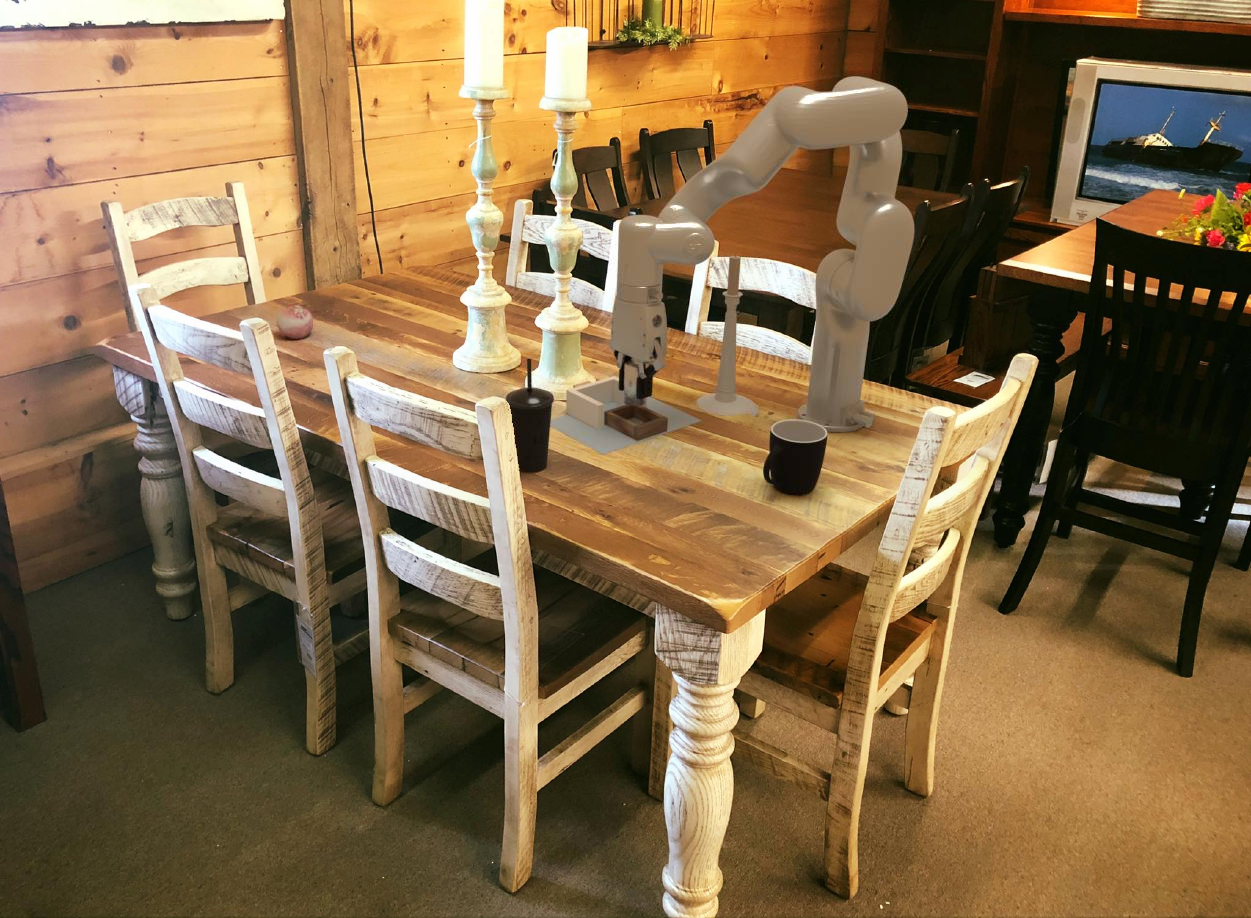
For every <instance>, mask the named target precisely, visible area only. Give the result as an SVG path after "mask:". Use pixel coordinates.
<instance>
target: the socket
mask: <svg viewBox="0 0 1251 918" xmlns="http://www.w3.org/2000/svg"><path fill="white" fill-rule="evenodd" d="M631 418H636V419H638V420H640V421H642V422H644V423H643V424H640V425H637V424H635V423H633V422H631V421H629V420H627V419H631ZM604 424H605V425H607V426H609V427H611V428H613V429H614V430H616V431H618V432H620V433H622V434H624V435H626V436H628V437H630V438H632V439H634V440H636V441H639V440H642V439H645V438H648V437H651V436H654V435H657V434H660V433H663V432H666V431H667V427H668V418H667V417H665V416H663V415H661V414H658V413H656V412H654V411H652V410H650V409H648V408H646V407H644V406H642V405H641V406H630V405H624V406H620V407H617V408H614V409H611V410H608V411H604Z"/></svg>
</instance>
